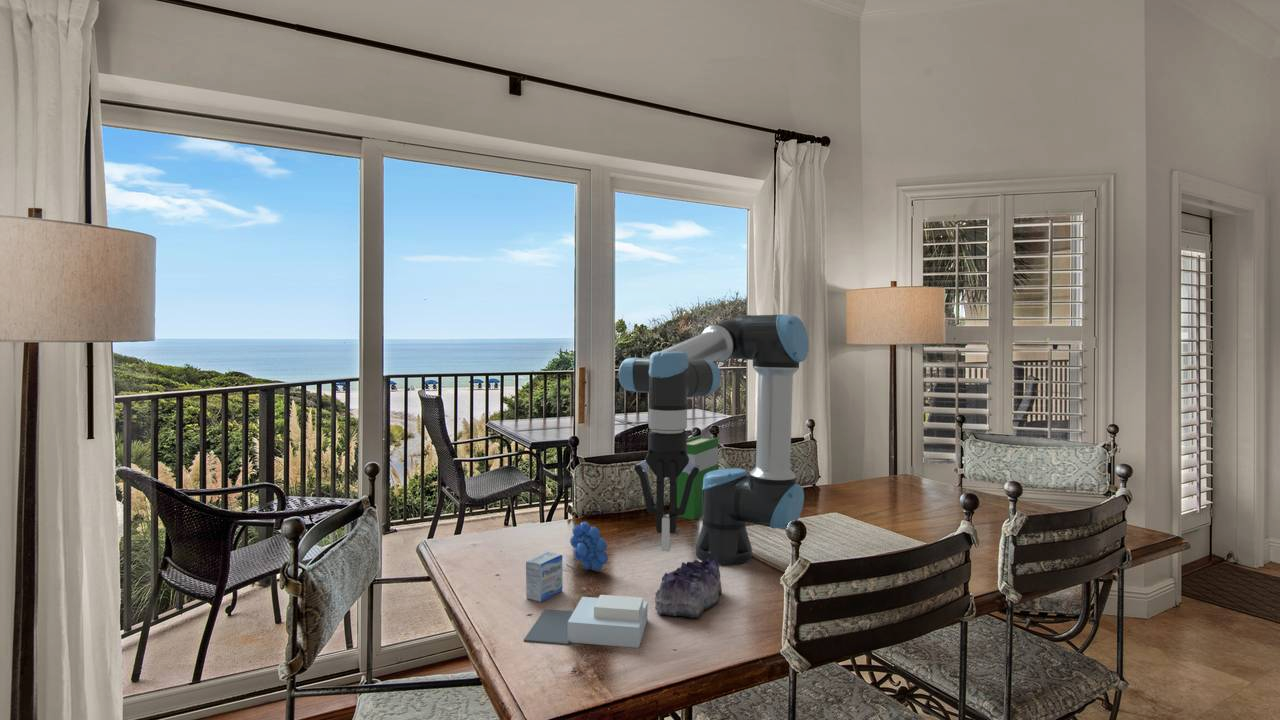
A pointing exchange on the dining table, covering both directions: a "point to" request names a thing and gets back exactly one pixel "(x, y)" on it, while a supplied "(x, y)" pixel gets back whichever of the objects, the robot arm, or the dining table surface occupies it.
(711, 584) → the geode
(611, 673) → the dining table surface
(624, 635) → the block
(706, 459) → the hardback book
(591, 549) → the grapes
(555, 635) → the mat
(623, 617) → the cream rectangular box
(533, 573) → the medicine box
